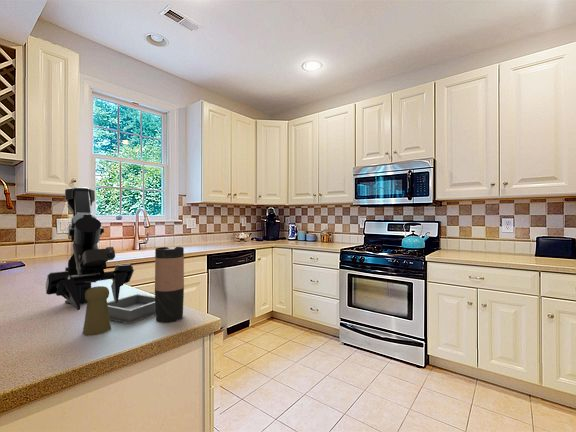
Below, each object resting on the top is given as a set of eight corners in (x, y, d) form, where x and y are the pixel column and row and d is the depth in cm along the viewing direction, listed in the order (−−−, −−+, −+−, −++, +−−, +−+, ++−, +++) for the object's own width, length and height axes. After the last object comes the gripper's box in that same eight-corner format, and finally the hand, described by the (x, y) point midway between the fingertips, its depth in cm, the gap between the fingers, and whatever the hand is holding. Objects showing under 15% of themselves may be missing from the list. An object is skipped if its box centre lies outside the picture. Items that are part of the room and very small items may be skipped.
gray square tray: (98, 317, 84) (98, 304, 84) (137, 304, 95) (137, 293, 95) (129, 323, 78) (129, 310, 78) (167, 309, 90) (167, 298, 90)
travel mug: (166, 325, 77) (166, 250, 77) (148, 319, 81) (149, 248, 81) (189, 317, 84) (189, 247, 84) (172, 312, 88) (172, 246, 88)
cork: (77, 332, 73) (77, 288, 73) (102, 324, 78) (102, 283, 78) (91, 337, 70) (91, 291, 70) (116, 328, 75) (116, 286, 75)
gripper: (47, 239, 70) (55, 294, 62) (131, 235, 83) (146, 280, 76) (42, 268, 75) (49, 321, 68) (122, 260, 89) (135, 304, 81)
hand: (98, 305), depth 73 cm, fingers open, 8 cm apart
